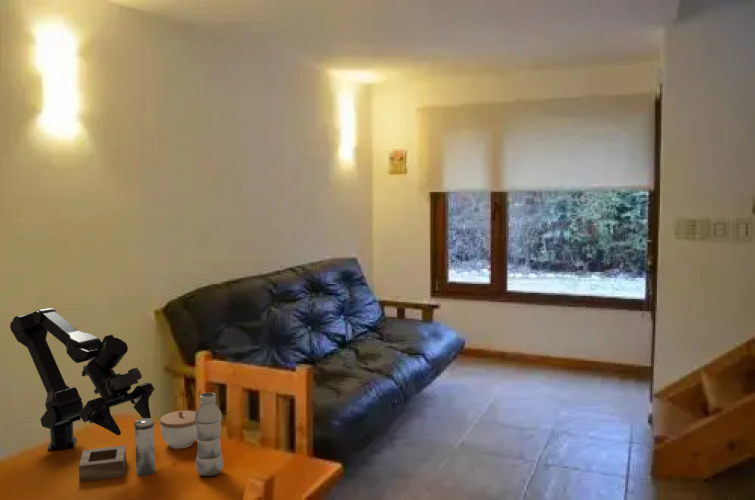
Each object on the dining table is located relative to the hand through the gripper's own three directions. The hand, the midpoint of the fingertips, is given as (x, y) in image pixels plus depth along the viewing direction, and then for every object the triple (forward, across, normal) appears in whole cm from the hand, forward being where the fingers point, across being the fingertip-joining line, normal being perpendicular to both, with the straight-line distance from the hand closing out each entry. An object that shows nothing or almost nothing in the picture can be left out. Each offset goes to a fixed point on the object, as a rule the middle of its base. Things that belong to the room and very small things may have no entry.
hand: (135, 428), depth 160 cm
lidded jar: (+6, +17, +9) cm, 20 cm away
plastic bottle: (+20, +7, -5) cm, 22 cm away
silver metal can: (+10, 0, +5) cm, 11 cm away
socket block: (+3, -5, +12) cm, 13 cm away
